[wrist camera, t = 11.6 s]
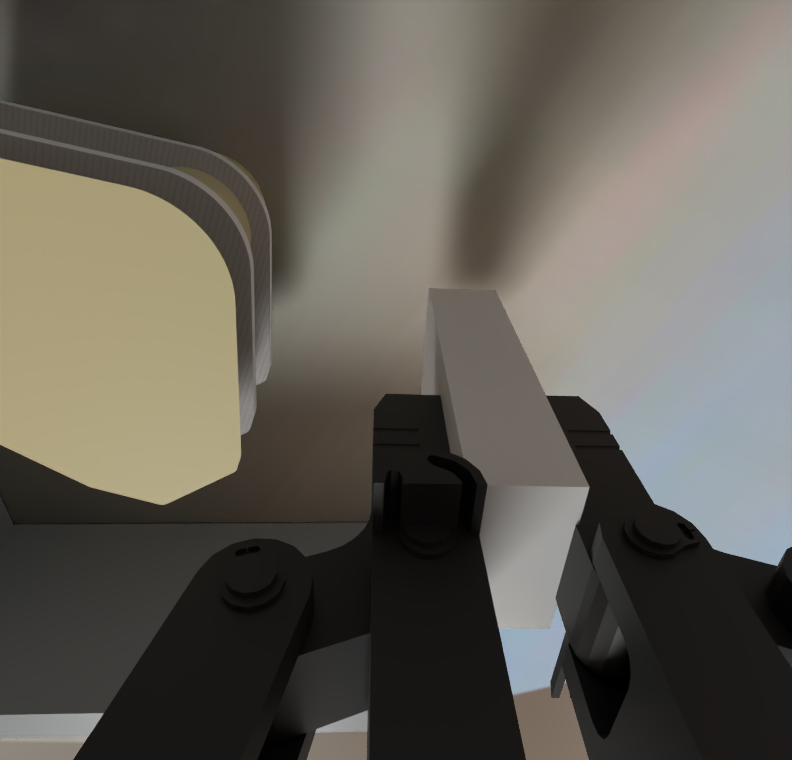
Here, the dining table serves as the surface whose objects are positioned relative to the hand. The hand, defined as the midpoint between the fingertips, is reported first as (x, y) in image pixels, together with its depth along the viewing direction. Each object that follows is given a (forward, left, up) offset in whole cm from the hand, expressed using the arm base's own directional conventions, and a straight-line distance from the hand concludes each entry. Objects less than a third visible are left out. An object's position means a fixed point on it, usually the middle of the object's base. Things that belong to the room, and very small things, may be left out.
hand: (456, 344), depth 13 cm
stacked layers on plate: (-2, -7, -2) cm, 8 cm away
